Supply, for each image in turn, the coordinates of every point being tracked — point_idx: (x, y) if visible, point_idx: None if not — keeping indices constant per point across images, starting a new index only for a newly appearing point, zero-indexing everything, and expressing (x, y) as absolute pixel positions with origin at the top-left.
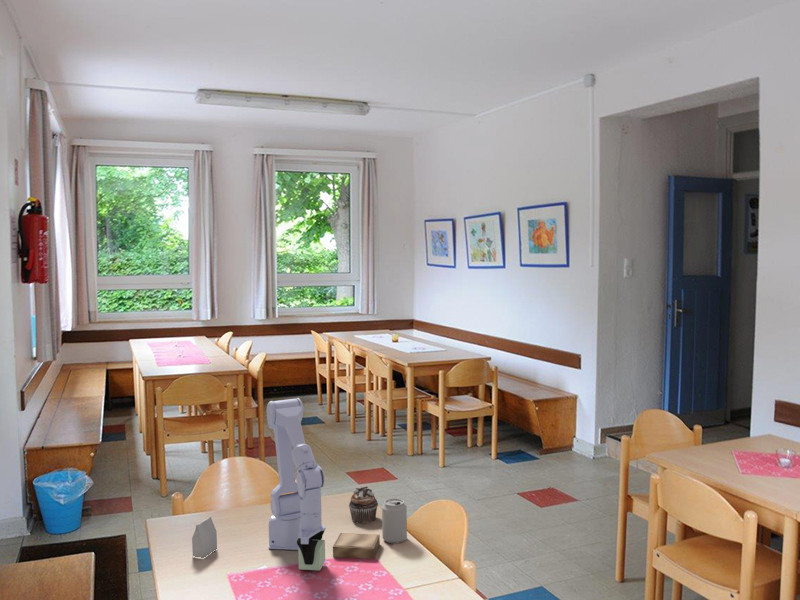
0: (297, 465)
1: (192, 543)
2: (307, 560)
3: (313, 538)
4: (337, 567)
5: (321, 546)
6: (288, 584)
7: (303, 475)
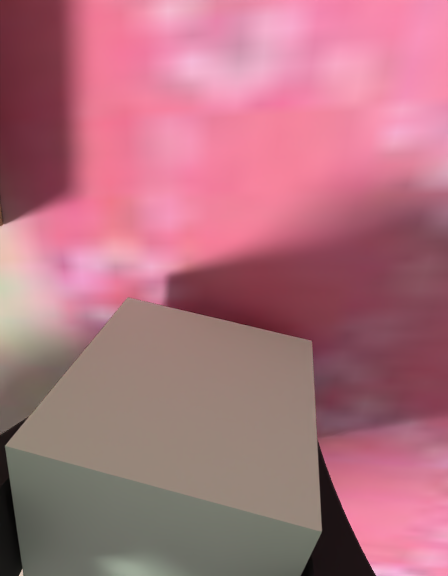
0: None
1: None
2: None
3: (5, 554)
4: (198, 181)
5: (205, 490)
6: (435, 503)
7: None
